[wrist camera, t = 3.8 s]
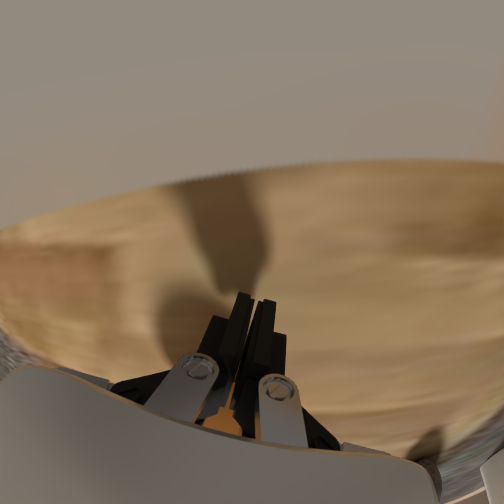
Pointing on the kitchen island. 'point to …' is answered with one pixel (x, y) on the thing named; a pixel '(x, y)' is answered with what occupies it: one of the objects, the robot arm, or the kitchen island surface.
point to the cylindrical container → (494, 477)
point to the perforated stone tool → (433, 475)
